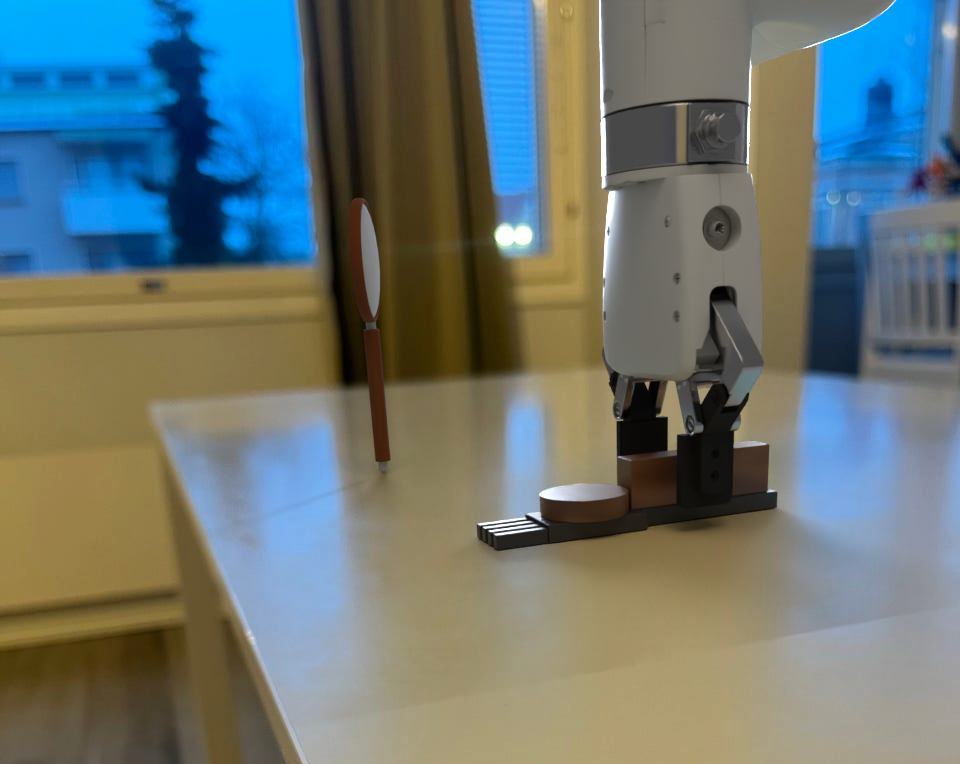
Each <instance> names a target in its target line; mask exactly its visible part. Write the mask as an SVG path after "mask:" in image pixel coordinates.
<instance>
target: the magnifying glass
mask: <svg viewBox="0 0 960 764" xmlns="http://www.w3.org/2000/svg"><path fill="white" fill-rule="evenodd" d="M348 249H349V251H348V252H349V261H350V270H351V271H350V272H351V279H352V286H353V292H354V296H355V302H356V306H357V308H358V312H359V315H360V317H361V319H362V321H363V322H364V323H365V329H363V330H362V331H363V342H364V351H365V352H364V353H365V362H366V363H365V364H366V373H367V386H368V394H369V395H368V396H369V403H370V404H369V405H370V417H371V428H372V441H373V449H374V461H375V462H376V463H378V471H379V472H380V473H381V474H383V475H384V474H387V473H388V471H389V470H390V469H389V462H390V461H391V449H390V448H391V447H390V439H389V438H390V437H389V426H388V415H387V414H388V413H387V403H386V391H385V380H384V379H385V378H384V369H383V367H384V366H383V356H382V346H381V334H380V333H381V332H380V328H377V323H376V322H377V321H378V319H379V315H380V308H381V269H380V256H379V249H378V241H377V235H376V230H375V225H374V219H373V215H372V211H371V209H370V205H369V204H368V201H367V200H366V199H365V198H363V197H356V198H353V200H351V202H350V206H349V212H348Z"/></svg>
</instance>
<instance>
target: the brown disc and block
mask: <svg viewBox="0 0 960 764" xmlns="http://www.w3.org/2000/svg"><path fill="white" fill-rule="evenodd" d="M769 464H770V444H769V443H764V442H760V441H755V440H746V441H738V442H734V458H733V494H732V496H739V495H746V494H754V493H761V492H767V491H768V489H769ZM676 483H677V449H671V450H670V449H669V450H668V451H661V452H653V453H644V454H636V455H627V456H619V457H617V456H616V484H610V483H574V484H565V485H558V486H553V487H549V488H546V489H543V490H541V492H539V512H540V515H541V516H542V517H543V518H545V519H548V520H552V521H557V522H568V523H588V522H600V521H607V520H612V519H617V518H620V517H623V516H625V515H627V514H628V512H629V509H630V510H636V509H643V508H651V507H658V506H665V505H673V504H677V502H676Z"/></svg>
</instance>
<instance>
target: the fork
mask: <svg viewBox="0 0 960 764" xmlns="http://www.w3.org/2000/svg"><path fill="white" fill-rule="evenodd" d="M777 507H778V491H777V490H774V489H769V488H768V491H767V492H761V493H754V494H746V495H739V496H732V499H731V501H730V502H729V503H727V504H721V505H714V506H707V507H699V508H692V509H684V508H681V507H679V506H678V505H677V504H673V505H665V506H658V507H651V508H643V509H636V510H630V509H629V512H628V514H627V515H625V516H623V517H620V518H617V519H612V520H607V521H600V522H588V523H568V522H557V521H552V520H548V519H545V518H543V517H542V516H541V515H540V511H534V512H527V513H525V514H524V517H519V518H518V517H517V518H511V519H503V520H502V519H501V520H496V521H495V520H494V521H488V522H481V523H476V537H477V538H478V539H479V540H482V541H483V542H484V543H486V544H488V545H489V546H491V547H493V548H494V549H495V550H497V551H501V550H508V549H516V548H522V547H528V546H536V545H542V544H543V545H544V544H548V543H549V544H554V543H560V542H567V541H576V540H580V539H581V540H582V539H589V538H595V537H603V536H609V535H610V536H611V535H616V534H623V533H629V532H637V531H645V530H648V526H649V527H650V526H657V525H663V524H664V525H665V524H670V523H677V522H684V521H692V520H698V519H705V518H706V519H707V518H712V517H713V518H714V517H718V516H719V517H720V516H726V515H734V514H742V513H747V512H748V513H749V512H754V511H756V512H757V511H762V510H769V509H775V508H777Z"/></svg>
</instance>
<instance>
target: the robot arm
mask: <svg viewBox="0 0 960 764" xmlns="http://www.w3.org/2000/svg"><path fill="white" fill-rule="evenodd" d="M598 1H599V3H598V4H599V62H600V64H599V67H600V71H599V72H600V120H601V122H600V136H601V181H602V182H601V190H602V191H605V192H609V193H608V201H607V209H606V210H607V212H606V222H605V235H604V251H603V272H602V273H603V274H602V275H603V276H602V336H603V347H602V350H601V359H602V362H603V365H604V367H605V370H606V372H607V375H608V377H609V378H608V380H609V381H608V386H609V388H610V390H611V392H612V395H613V397H614V398H613V402H612V415H613V417H614V419H615V420H616V421H615V425H616V427H615V428H616V458H617V457H619V456H627V455H636V454H644V453H653V452H661V451H669V447H668V446H669V416H665V415H661V413H662V410H663V406H664V402H665V397H666V392H667V389H668V384H669V382H674V384H675V388H676V393H677V398H678V403H679V409H680V414H681V419H682V423H683V427H684V428H683V429H684V431H685V433H678V434H676V450H677V483H676V502H677V505H678V506H679V507H681V508H684V509H692V508H699V507H707V506H714V505H721V504H727V503H729V502H730V501H731V499H732V494H733V458H734V443H735V432H737V431H738V430H739V429H740V427H741V423H742V415H741V413H742V411H743V409H744V408H745V407H746V405H747V404H748V401H749V398H750V393H751V392H752V389H753V388H754V386H755V385H756V383H757V381H758V380H759V378H760V376H761V374H762V373H763V371H764V366H765V363H764V361H765V360H764V358H763V356H762V352H763V351H762V349H763V268H762V267H763V266H762V265H763V264H762V248H761V247H762V246H761V244H762V243H761V232H760V220H759V214H758V205H757V197H756V191H755V190H756V189H755V185H754V179H753V174H752V173H749V147H750V144H749V143H750V115H751V114H750V111H751V108H750V106H751V105H750V104H751V82H752V81H751V78H752V67H755V66H758V65H760V64H763V63H766V62H769V61H771V60H774V59H777V58H779V57H781V56H784V55H786V54H789V53H792V52H795V51H798V50H802V49H807V48H810V47H814V46H817V45H818V44H822V43H824V42H827V41H828V40H831V39H834V38H837V37H840V36H844V35H846V34H848V33H850V32H853V31H855V30H857V29H859V28H862V27H863V26H865V25H867V24H868V23H870V22H871V21H873V20H875V19H877V18H878V17H880V16H881V15H882V14H883V13H884V12H885V11H887V10H888V9H889V8H890V7H891V6H893V5H894V3H895V2H896V1H897V0H598ZM646 383H648V387H647V385H646ZM702 389H709V390H708V392H707V393H706V395H705V396H704V398H703V399H702V401H701V398H700V395H699V394H700V393H699V390H702Z"/></svg>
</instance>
